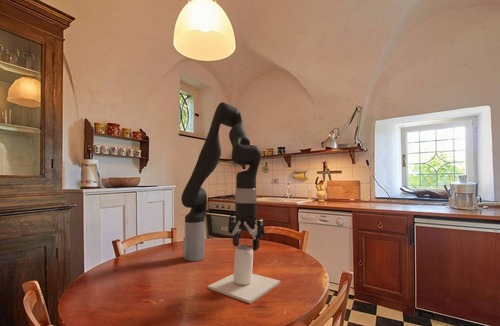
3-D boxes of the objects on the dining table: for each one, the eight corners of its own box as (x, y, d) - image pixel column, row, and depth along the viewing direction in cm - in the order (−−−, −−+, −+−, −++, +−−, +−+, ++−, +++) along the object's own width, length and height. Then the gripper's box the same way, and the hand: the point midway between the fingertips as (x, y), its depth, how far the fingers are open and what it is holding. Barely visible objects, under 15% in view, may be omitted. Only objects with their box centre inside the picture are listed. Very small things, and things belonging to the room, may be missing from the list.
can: (249, 287, 83) (251, 251, 83) (230, 283, 84) (233, 248, 85) (253, 279, 89) (255, 245, 89) (236, 276, 91) (238, 243, 91)
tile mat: (207, 288, 84) (207, 285, 84) (240, 272, 98) (240, 270, 98) (250, 303, 73) (250, 300, 73) (280, 283, 88) (280, 280, 88)
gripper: (223, 200, 88) (223, 246, 87) (256, 203, 80) (255, 254, 79) (237, 199, 94) (236, 242, 93) (268, 201, 86) (268, 249, 84)
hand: (245, 247), depth 86 cm, fingers open, 8 cm apart
